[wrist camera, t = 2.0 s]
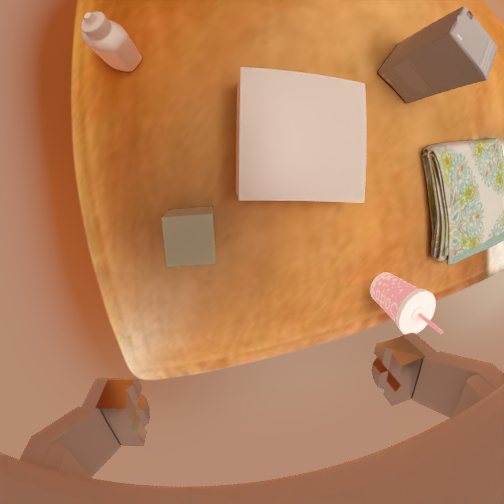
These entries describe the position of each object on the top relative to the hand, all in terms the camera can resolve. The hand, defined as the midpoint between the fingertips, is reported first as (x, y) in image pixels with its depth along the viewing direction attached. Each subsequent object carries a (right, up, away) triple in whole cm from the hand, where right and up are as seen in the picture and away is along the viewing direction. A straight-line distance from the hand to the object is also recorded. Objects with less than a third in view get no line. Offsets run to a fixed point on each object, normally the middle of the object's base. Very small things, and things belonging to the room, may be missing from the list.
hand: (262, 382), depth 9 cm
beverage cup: (+19, -1, +31) cm, 36 cm away
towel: (+35, +14, +29) cm, 48 cm away
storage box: (+4, +17, +24) cm, 30 cm away
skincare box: (+21, +30, +22) cm, 43 cm away
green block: (-7, +7, +25) cm, 27 cm away
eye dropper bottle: (-16, +27, +17) cm, 36 cm away
